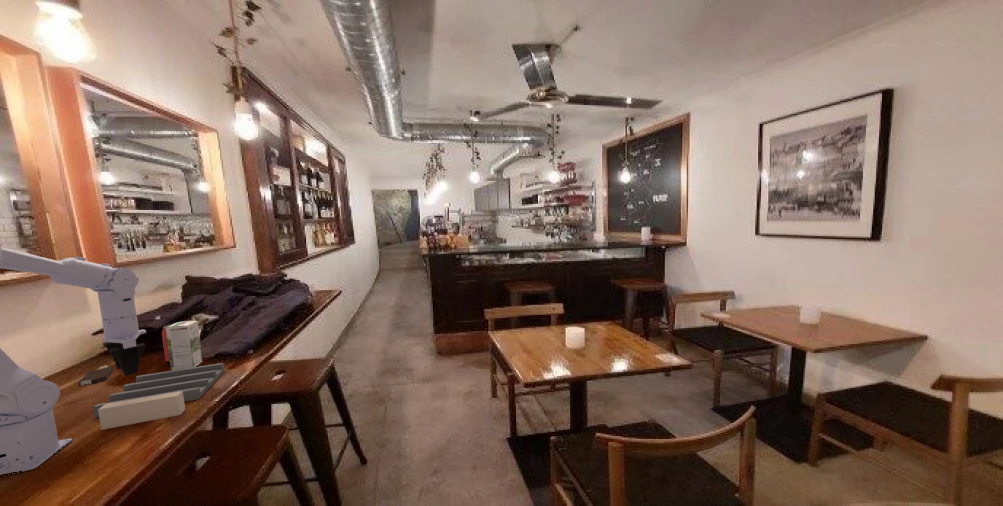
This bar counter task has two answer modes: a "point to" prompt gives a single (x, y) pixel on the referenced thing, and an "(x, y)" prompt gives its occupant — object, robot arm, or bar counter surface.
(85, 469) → the bar counter surface
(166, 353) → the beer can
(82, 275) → the robot arm
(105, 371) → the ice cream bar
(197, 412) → the bar counter surface
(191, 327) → the syrup box
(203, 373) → the drying rack
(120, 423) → the clay strip
